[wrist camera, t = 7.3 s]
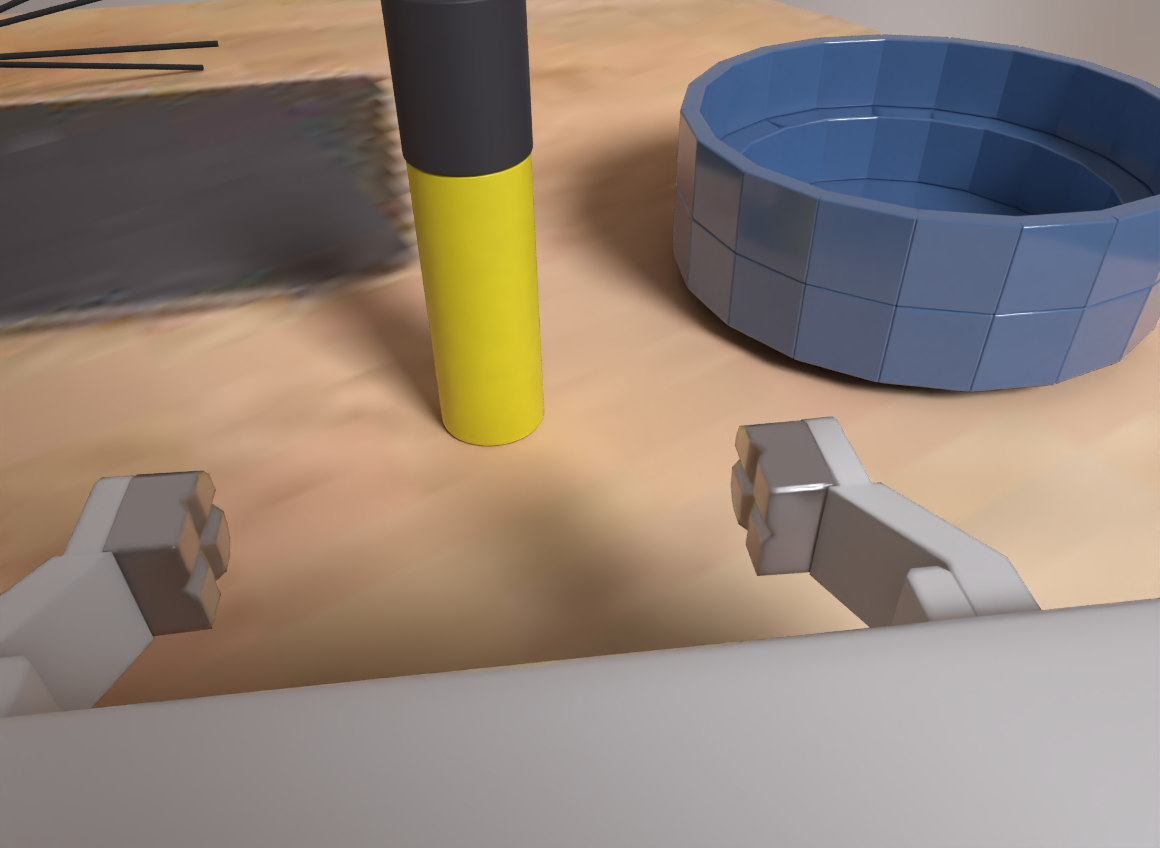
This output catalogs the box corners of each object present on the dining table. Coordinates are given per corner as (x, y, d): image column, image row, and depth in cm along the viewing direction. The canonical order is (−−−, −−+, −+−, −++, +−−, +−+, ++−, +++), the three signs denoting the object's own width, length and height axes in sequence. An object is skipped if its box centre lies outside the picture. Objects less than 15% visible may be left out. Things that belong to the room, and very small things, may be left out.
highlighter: (440, 452, 24) (374, 4, 17) (440, 387, 26) (382, -33, 19) (550, 442, 24) (530, -4, 17) (541, 378, 26) (519, -38, 19)
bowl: (735, 430, 24) (757, 245, 21) (640, 190, 36) (644, 45, 33) (1264, 384, 26) (1367, 202, 22) (1005, 166, 37) (1047, 25, 34)
